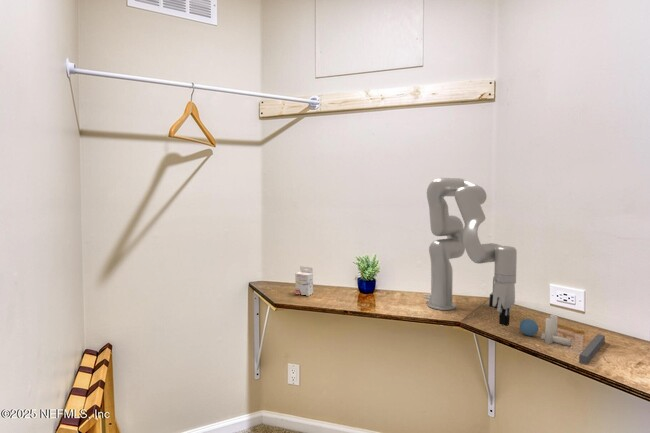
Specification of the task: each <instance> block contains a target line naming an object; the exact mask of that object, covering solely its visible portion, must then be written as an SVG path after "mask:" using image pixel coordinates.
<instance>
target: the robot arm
mask: <svg viewBox="0 0 650 433" xmlns="http://www.w3.org/2000/svg"><path fill="white" fill-rule="evenodd" d="M487 196H488V195H487V192H486V190H485V189H484V188H483V187H481V186H480V185H478V184H476V183H473V182H470V181H469V180H466V179H463V178H458V177H457V178H456V177H438V178H435V179H433V180H431V182H429V184H428V186H427V189H426V199H427V203H428V210H429V222H430V223H429V224H430V231H431V233H432V235H433V236H435V237H446V238H442V239H441V238H440V239H436V240H433V241H432V242H431V243H430V244H429V246H428V253H429V258H430V273H431V274H430V294H429V293H424V299H425V300H428V302H427V306H428V307H429V308H430V309H433V310H439V311H451V310H455V309H456V308H457V305H456V303H454V302H453V266H452V263H451V261H450V260H452V259H458V258H461V257H463V255H464V254H465V253H466V254H467V256H468V258H469V259H470V260H471V262H473V263H474V264H477V265H478V264H487V263H494V270H493V271H494V276H493V277H494V281H495V283H494V291H493V290H492V292H493V307H497V306H498V307H497V308H496V311H497V313H498V317H499V319H498V320H499V321H498V323H499V325H501V326H505V327H508V326H510V316H511V308H512V307H513V306H514V305H515V303H516V283H517V258H518V257H517V254H518V253H517V249H516V247H514V246H509V245H501V244H498V243H492V242H491V243H481V241H480V238H479V235H478V234H479V233H478V231H479V226H480V225H481V224H483V222H484V221H485V220H486V215H485V213H484V210H483V208H482V205H483V204H484V203H485V202H486V201H487ZM445 197H454V200H455V202H456V204H457V208H458V210H459V212H460V216H461V217H462V220H461V218H459V217H458V216H456V215H450V213H449V206H448V203H447V201H446V199H445ZM463 222H464V224H463ZM465 251H466V252H465ZM493 307H492V308H493Z"/></svg>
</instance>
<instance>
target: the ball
mask: <svg viewBox="0 0 650 433" xmlns="http://www.w3.org/2000/svg"><path fill="white" fill-rule="evenodd" d="M519 329H520V331H521V333H523V334H524V335H526V336H530V337H532V336H533V337H534V336H535V335H537V333H538V332H539V325H538V324H537V322H536V321H534V320H533V319H531V318H524V319H522V320H521V321H520V323H519Z"/></svg>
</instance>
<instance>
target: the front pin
mask: <svg viewBox="0 0 650 433" xmlns="http://www.w3.org/2000/svg"><path fill="white" fill-rule="evenodd" d="M540 339H541V340H544V341H545V332H542V333H541V335H540ZM553 343H556V344H559V345H563V346H568V347H571V344H572V340H571V339H569V338H564V337H561V336H558V335H557V336H553Z"/></svg>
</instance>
